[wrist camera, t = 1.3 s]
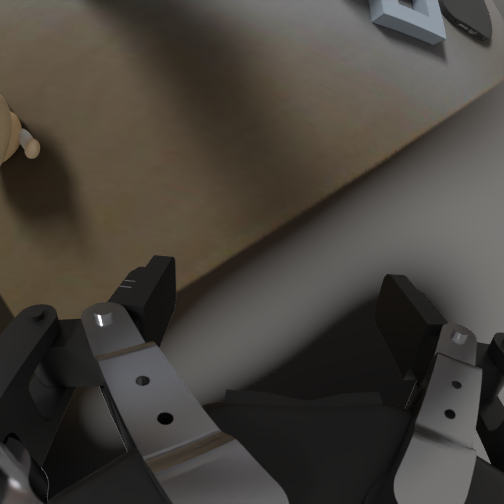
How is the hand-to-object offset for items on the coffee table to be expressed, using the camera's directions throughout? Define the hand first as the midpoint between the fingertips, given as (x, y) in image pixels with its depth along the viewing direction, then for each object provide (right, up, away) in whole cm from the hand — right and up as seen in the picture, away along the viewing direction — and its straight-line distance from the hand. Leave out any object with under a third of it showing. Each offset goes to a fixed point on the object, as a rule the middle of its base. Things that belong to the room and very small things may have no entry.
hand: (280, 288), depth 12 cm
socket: (+22, +40, +22) cm, 51 cm away
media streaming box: (+38, +49, +24) cm, 66 cm away
